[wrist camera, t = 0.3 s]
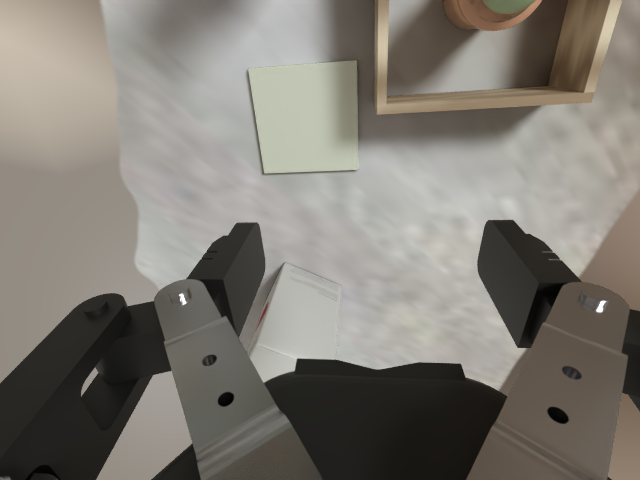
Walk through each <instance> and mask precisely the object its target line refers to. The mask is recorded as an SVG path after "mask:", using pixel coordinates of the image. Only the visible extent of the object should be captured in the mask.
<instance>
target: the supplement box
mask: <svg viewBox="0 0 640 480" xmlns="http://www.w3.org/2000/svg"><path fill="white" fill-rule="evenodd" d="M340 299H341V286H340V285H338V284H335V283H333V282H330V281H328V280H326V279H323V278H321V277H319V276H316V275H314V274H312V273H309V272H307V271H305V270H302V269H300V268H297V267H295V266H293V265H290V264H288V263H284V264H283V266H282V268H281V270H280V272H279V274H278V276H277V278H276V280H275V283H274V285H273V287H272V289H271V291H270V293H269V295H268V297H267V299H266V301H265V304H264V306H263V309H262V312H261V315H260V317H259V320H258V323H257V325H256V328H255V331H254V333H253V336H252V339H251V342H250V344H249V347H248V350H247V354H248V356H249V358H250V359H251V361H252V363H253V365H254V366H255V368H256V370H257V372H258V374H259V375H260V377H261V379H262V381H263V382H266V381H268V380H270V379H272V378H274V377H276V376H279V375H281V374H285V373H288V372H292V371H295V367H296V361H297V358H301V359H331V360H336V350H337V337H338V325H339V312H340Z"/></svg>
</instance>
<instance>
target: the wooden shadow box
mask: <svg viewBox="0 0 640 480" xmlns="http://www.w3.org/2000/svg"><path fill="white" fill-rule="evenodd" d="M621 2H622V0H568V3H567V7H566V12H565V16H564V20H563V24H562V29H561V33H560V37H559V41H558V46H557V50H556V54H555V58H554V62H553V67H552V71H551V75H550V79H549V84H548V86H540V87H524V88H509V89H493V90H477V91H462V92H446V93H430V94H415V95H399V96H387V58H388V17H389V0H375V36H374V107H375V110H376V113H377V115H382V114H399V113H417V112H434V111H451V110H469V109H486V108H504V107H521V106H538V105H556V104H573V103H590V102H592V99H593V96H594V92H595V89H596V86H597V82H598V79H599V76H600V72H601V69H602V66H603V62H604V59H605V56H606V52H607V49H608V46H609V42H610V39H611V36H612V32H613V29H614V26H615V22H616V19H617V16H618V12H619V9H620V6H621Z"/></svg>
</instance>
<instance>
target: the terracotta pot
mask: <svg viewBox="0 0 640 480" xmlns="http://www.w3.org/2000/svg"><path fill="white" fill-rule="evenodd" d="M541 1H542V0H443V6H444V11H445V14H446V16H447V18H448V19H449V21H450V22H451V23H452V24H453V25H455V26H456V27H458V28H461V29H466V30H467V29H476V28H477V29H479V30H483V31H497V30H504V29H507V28H510V27H512V26H515V25H517V24H518V23H520V22H522V21H523V20H524V19H526V18H527V17H528V16H529V15H530V14H531V13H532V12H533V11H534V10H535V9H536V8H537V7H538V5H539V4H540V3H541Z"/></svg>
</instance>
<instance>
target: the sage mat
mask: <svg viewBox="0 0 640 480" xmlns="http://www.w3.org/2000/svg"><path fill="white" fill-rule="evenodd" d="M248 71H249V78H250V84H251V91H252V97H253V104H254V110H255V116H256V123H257V129H258V136H259V142H260V149H261V155H262V162H263V168H264V173H287V172H313V171H339V170H359V165H358V96H357V60H352V61H339V62H326V63H313V64H300V65H287V66H274V67H261V68H249V69H248Z"/></svg>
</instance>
